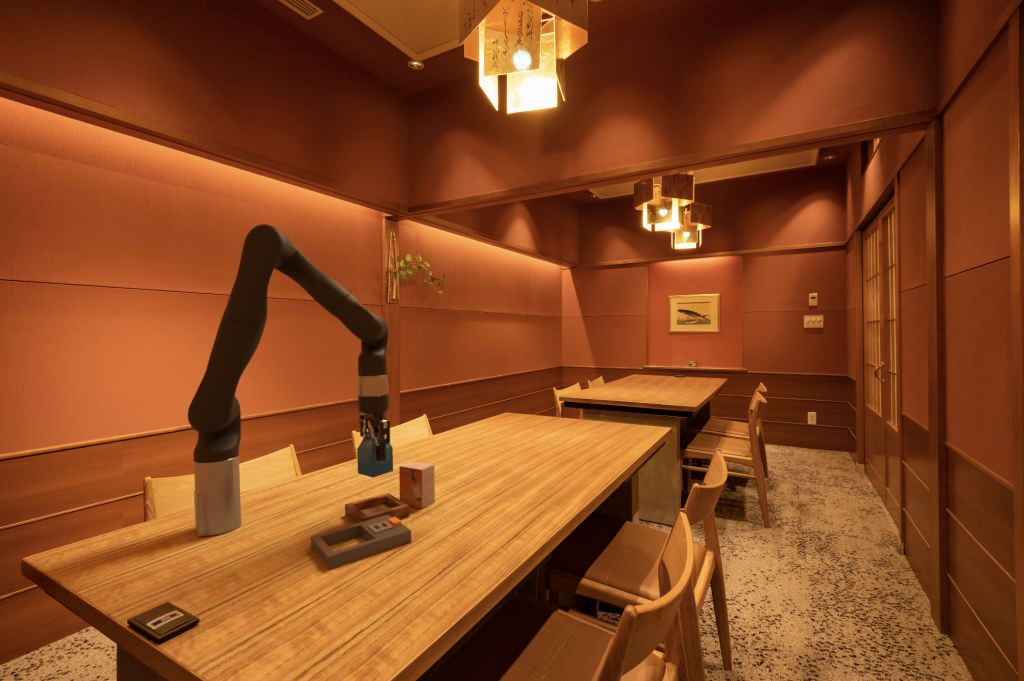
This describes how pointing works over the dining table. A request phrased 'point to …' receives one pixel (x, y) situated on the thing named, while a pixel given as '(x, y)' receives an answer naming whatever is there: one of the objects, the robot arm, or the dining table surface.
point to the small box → (417, 484)
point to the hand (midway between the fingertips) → (375, 457)
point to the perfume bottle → (373, 458)
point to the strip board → (378, 538)
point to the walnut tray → (376, 508)
